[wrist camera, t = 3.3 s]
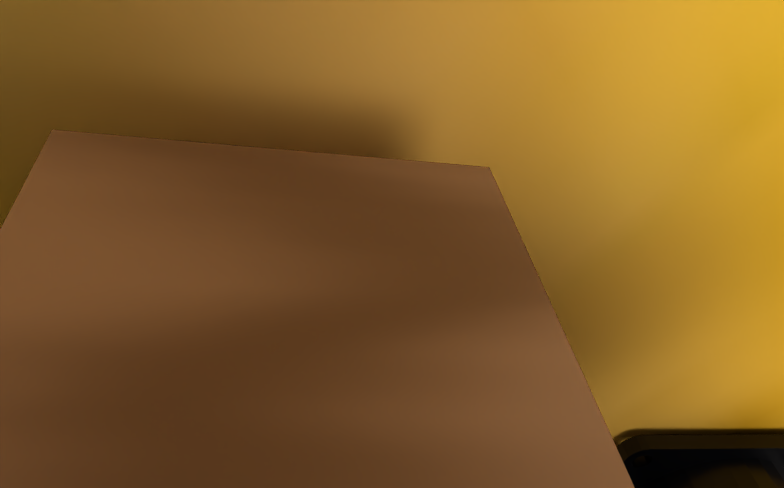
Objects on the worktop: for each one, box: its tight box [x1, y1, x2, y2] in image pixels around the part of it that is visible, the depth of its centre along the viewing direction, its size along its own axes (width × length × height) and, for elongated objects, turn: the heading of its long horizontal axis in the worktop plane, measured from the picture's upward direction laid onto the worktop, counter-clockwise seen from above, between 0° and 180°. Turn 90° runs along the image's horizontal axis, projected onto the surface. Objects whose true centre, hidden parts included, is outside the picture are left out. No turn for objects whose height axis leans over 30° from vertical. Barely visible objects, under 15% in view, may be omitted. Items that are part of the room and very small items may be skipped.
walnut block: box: [0, 130, 635, 488], centre depth 7 cm, size 5×5×5 cm
